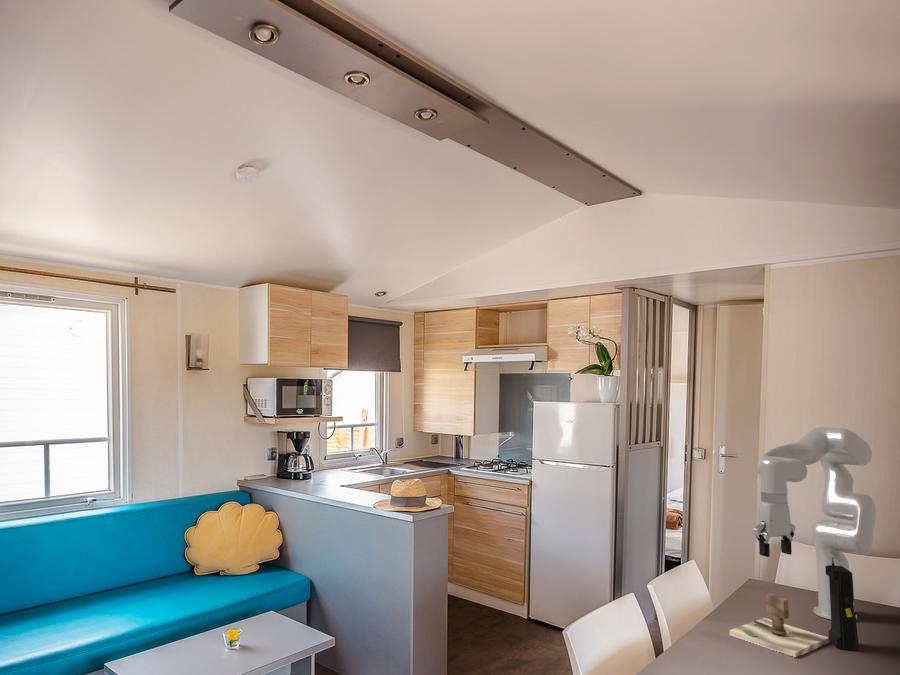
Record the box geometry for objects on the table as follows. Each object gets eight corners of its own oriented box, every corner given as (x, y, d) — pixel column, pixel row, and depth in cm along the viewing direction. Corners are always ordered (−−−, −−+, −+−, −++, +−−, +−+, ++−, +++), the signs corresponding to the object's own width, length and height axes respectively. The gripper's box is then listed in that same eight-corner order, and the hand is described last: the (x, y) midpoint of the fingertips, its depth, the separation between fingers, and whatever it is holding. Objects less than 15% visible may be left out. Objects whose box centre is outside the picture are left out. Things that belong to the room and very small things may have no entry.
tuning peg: (792, 635, 188) (790, 599, 189) (782, 637, 186) (780, 600, 187) (759, 622, 198) (758, 588, 199) (749, 624, 196) (748, 589, 197)
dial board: (764, 622, 203) (763, 617, 204) (828, 642, 187) (828, 637, 187) (729, 635, 192) (729, 629, 192) (795, 658, 176) (795, 651, 176)
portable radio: (861, 652, 180) (857, 564, 182) (839, 651, 181) (835, 563, 183) (850, 642, 187) (846, 558, 190) (828, 640, 189) (824, 556, 191)
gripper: (782, 496, 201) (783, 550, 199) (744, 497, 194) (745, 554, 192) (803, 499, 194) (805, 555, 192) (765, 501, 187) (766, 559, 185)
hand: (775, 554), depth 192 cm, fingers open, 9 cm apart
